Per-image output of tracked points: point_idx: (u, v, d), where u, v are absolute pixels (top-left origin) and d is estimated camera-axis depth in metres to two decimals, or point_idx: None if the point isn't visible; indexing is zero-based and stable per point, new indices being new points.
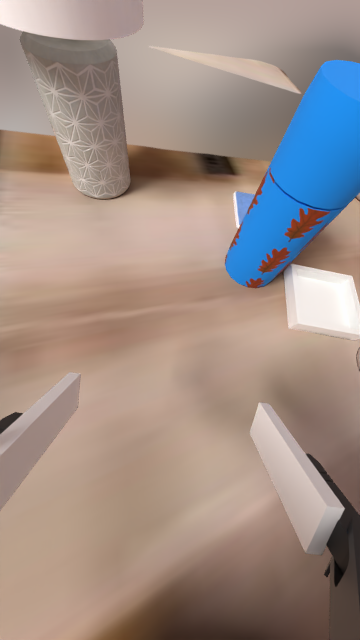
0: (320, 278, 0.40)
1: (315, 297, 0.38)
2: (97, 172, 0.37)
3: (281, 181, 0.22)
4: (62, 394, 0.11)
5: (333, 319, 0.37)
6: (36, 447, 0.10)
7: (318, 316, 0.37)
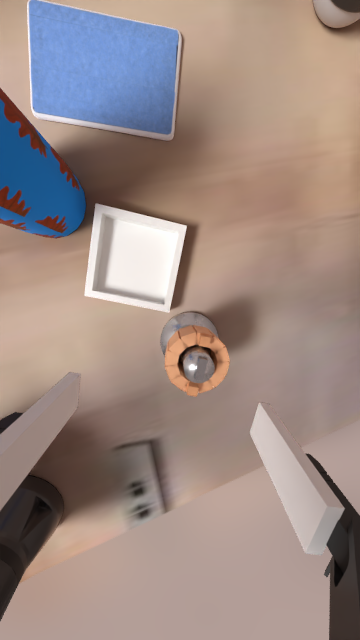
0: (146, 225, 0.29)
1: (133, 255, 0.30)
2: None
3: None
4: (62, 395, 0.11)
5: (148, 285, 0.31)
6: (36, 447, 0.10)
7: (129, 281, 0.31)
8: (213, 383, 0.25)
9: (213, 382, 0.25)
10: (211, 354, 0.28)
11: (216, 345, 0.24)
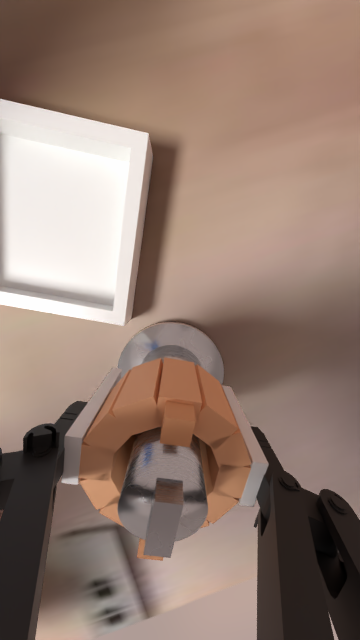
0: (66, 144, 0.14)
1: (50, 211, 0.15)
2: None
3: None
4: (113, 386, 0.13)
5: (86, 272, 0.16)
6: None
7: (48, 266, 0.16)
8: (208, 514, 0.10)
9: (208, 512, 0.10)
10: None
11: (214, 429, 0.09)
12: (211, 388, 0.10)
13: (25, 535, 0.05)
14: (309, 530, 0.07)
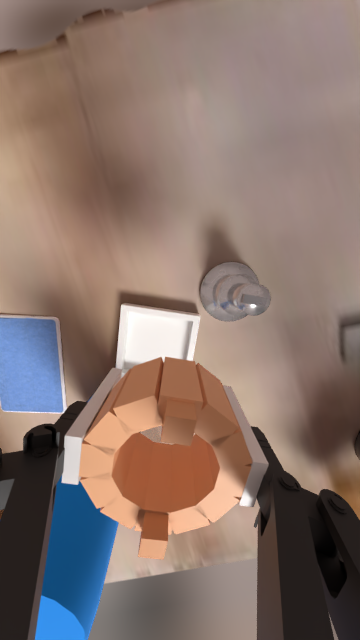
0: (126, 337, 0.34)
1: (151, 346, 0.35)
2: None
3: None
4: (112, 386, 0.13)
5: (176, 333, 0.34)
6: None
7: (174, 350, 0.35)
8: (209, 513, 0.10)
9: (209, 511, 0.10)
10: None
11: (215, 427, 0.09)
12: (212, 387, 0.10)
13: (25, 535, 0.05)
14: (309, 530, 0.07)
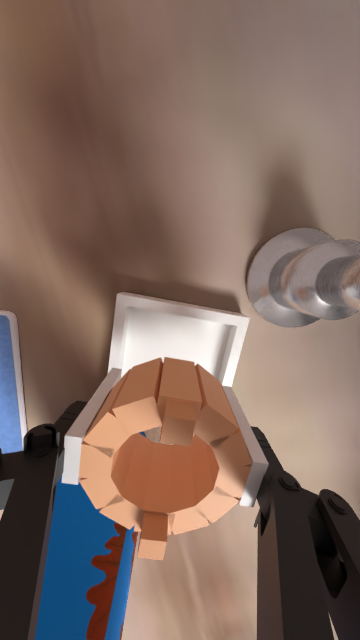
0: (123, 348, 0.21)
1: None
2: None
3: None
4: (112, 386, 0.13)
5: (204, 344, 0.21)
6: None
7: None
8: (209, 514, 0.10)
9: (208, 512, 0.10)
10: None
11: (214, 428, 0.09)
12: (211, 387, 0.10)
13: (25, 535, 0.05)
14: (309, 530, 0.07)
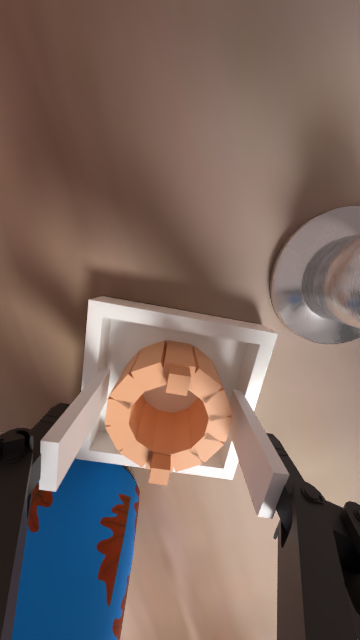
0: None
1: (157, 391, 0.16)
2: None
3: None
4: (99, 388, 0.12)
5: None
6: (81, 433, 0.11)
7: None
8: (201, 455, 0.13)
9: (201, 453, 0.13)
10: None
11: (204, 387, 0.12)
12: (204, 361, 0.14)
13: None
14: (335, 547, 0.07)
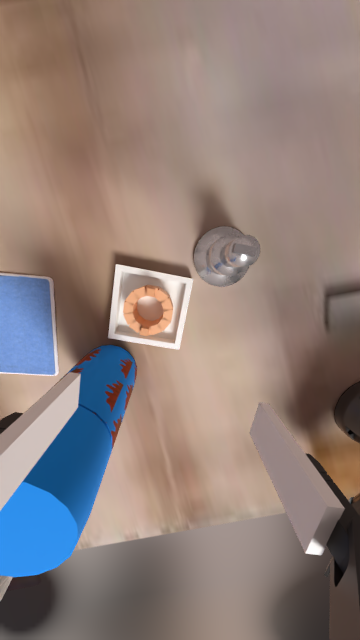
0: (120, 299, 0.34)
1: (144, 309, 0.35)
2: None
3: None
4: (62, 394, 0.11)
5: None
6: (36, 447, 0.10)
7: None
8: (161, 327, 0.32)
9: (161, 326, 0.32)
10: None
11: (161, 296, 0.31)
12: (163, 290, 0.33)
13: None
14: None
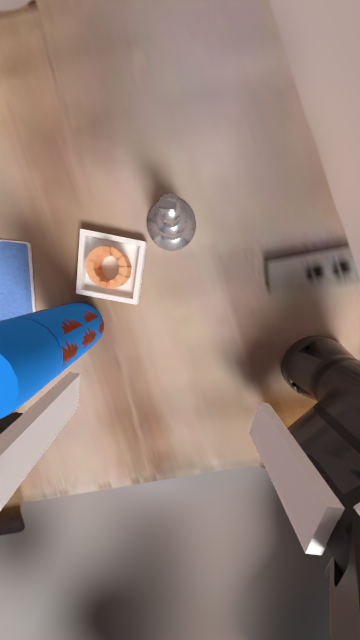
0: None
1: (107, 270, 0.42)
2: None
3: None
4: (62, 394, 0.11)
5: None
6: (36, 447, 0.10)
7: None
8: (118, 281, 0.38)
9: (118, 281, 0.38)
10: None
11: (116, 254, 0.37)
12: (120, 251, 0.39)
13: None
14: None
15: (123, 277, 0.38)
